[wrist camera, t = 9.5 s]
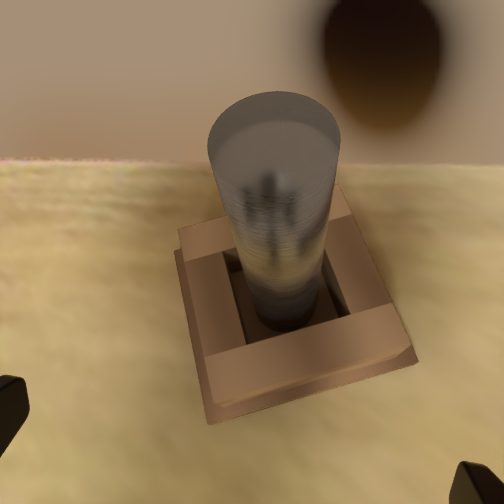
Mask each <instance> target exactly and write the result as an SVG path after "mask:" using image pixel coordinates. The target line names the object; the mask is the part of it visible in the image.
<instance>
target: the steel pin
mask: <svg viewBox="0 0 504 504" xmlns="http://www.w3.org/2000/svg"><path fill="white" fill-rule="evenodd" d="M207 146H208V155H209V159H210V163H211V166H212V169H213V173H214V176H215V179H216V182H217V186H218V189H219V192H220V196H221V199H222V202H223V206H224V209H225V212H226V216H227V219H228V222H229V225H230V229H231V232H232V235H233V239H234V242H235V245H236V249H237V252H238V255H239V258H240V262H241V265H242V268H243V272H244V275H245V278H246V282H247V285H248V288H249V292H250V295H251V298H252V301H253V305H254V308H255V311H256V314H257V316H258V318H259V319H260V320H261V322H262V323H263V324H264V325H266V326H267V327H269V328H270V329H272V330H275V331H279V332H291V331H295V330H298V329H300V328H302V327H303V326H304V325H306V324H307V323H308V322H309V320H310V319H311V318H312V316H313V314H314V311H315V306H316V300H317V293H318V287H319V280H320V274H321V267H322V261H323V254H324V247H325V241H326V234H327V228H328V221H329V215H330V208H331V202H332V195H333V189H334V182H335V176H336V169H337V162H338V156H339V149H340V132H339V128H338V125H337V123H336V121H335V119H334V117H333V116H332V114H331V113H330V112H329V111H328V110H327V109H326V108H325V107H324V106H322V105H321V104H319V103H318V102H317V101H315V100H313V99H311V98H309V97H306V96H303V95H300V94H296V93H291V92H281V91H280V92H279V91H275V92H265V93H260V94H255V95H252V96H249V97H246V98H244V99H242V100H240V101H238V102H236V103H235V104H233V105H232V106H230V107H229V108H228V109H226V110H225V111H224V112H223V113H222V114H221V115H220V116H219V118H218V119H217V120H216V122H215V123H214V125H213V126H212V129H211V131H210V134H209V138H208V145H207Z"/></svg>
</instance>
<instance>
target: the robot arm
mask: <svg viewBox="0 0 504 504" xmlns="http://www.w3.org/2000/svg"><path fill="white" fill-rule="evenodd" d="M29 410H30V405H29V399H28V393H27V387H26V382H25V380H24V379H23V378H21V377H17V376H12V375H2V376H0V457H1V456H2V454H3V453H4V451H5V450H6V448H7V447H8V446H9V444H10V443H11V441H12V440H13V438H14V437H15V435H16V434H17V432H18V431H19V429H20V428H21V426H22V425H23V423H24V422H25V421H26V419H27V417H28V414H29ZM449 504H504V483H503V482H502V481H501V480H500V479H499V478H498V477H497V476H496V475H495V474H494V473H493V472H492V471H491V470H490V469H489V468H488V467H487V466H485V465H483V464H478V463H473V462H468V461H462V462H460V463H459V465H458V467H457V470H456V473H455V477H454V480H453V483H452V487H451V490H450V494H449Z"/></svg>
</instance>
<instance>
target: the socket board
mask: <svg viewBox="0 0 504 504" xmlns="http://www.w3.org/2000/svg"><path fill="white" fill-rule="evenodd" d="M178 234H179V238H180V243H181V248H182V249H179V250H175V251H174V255H175V260H176V265H177V270H178V275H179V280H180V285H181V291H182V296H183V301H184V306H185V311H186V316H187V321H188V326H189V331H190V337H191V342H192V347H193V352H194V357H195V362H196V367H197V372H198V378H199V383H200V388H201V393H202V398H203V403H204V408H205V413H206V419H207V424H210V425H212V424H215V423H218V422H222V421H225V420H228V419H232V418H235V417H239V416H242V415H245V414H249V413H252V412H255V411H259V410H262V409H266V408H269V407H272V406H276V405H279V404H283V403H286V402H289V401H293V400H296V399H299V398H303V397H306V396H310V395H313V394H316V393H320V392H323V391H326V390H330V389H333V388H337V387H340V386H343V385H347V384H350V383H353V382H357V381H360V380H364V379H367V378H370V377H374V376H377V375H380V374H384V373H387V372H391V371H394V370H397V369H401V368H404V367H408V366H411V365H414V364H416V363H418V362H419V360H418V358H417V356H416V354H415V352H414V349H413V347H412V345H411V342H410V340H409V338H408V336H407V333H406V331H405V329H404V327H403V325H402V322H401V320H400V318H399V316H398V314H397V311H396V309H395V307H394V305H393V303H392V300H391V298H390V296H389V294H388V292H387V289H386V287H385V285H384V283H383V281H382V278H381V276H380V274H379V272H378V270H377V267H376V265H375V263H374V261H373V259H372V256H371V254H370V252H369V250H368V248H367V245H366V243H365V241H364V239H363V237H362V234H361V232H360V230H359V228H358V226H357V223H356V221H355V219H354V217H353V215H352V212H351V210H350V208H349V206H348V204H347V201H346V199H345V197H344V195H343V193H342V190H341V188H340V186H339V184H336V185H334V189H333V195H332V202H331V208H330V215H329V221H328V228H327V234H326V241H325V247H324V254H323V261H322V267H321V274H320V280H319V287H318V293H317V300H316V306H315V311H314V314H313V316H312V318H311V319H310V320H309V322H308V323H307V324H306V325H304V326H303V327H302V328H300V329H298V330H295V331H291V332H279V331H275V330H272V329H270V328H269V327H267V326H266V325H264V324H263V323H262V322H261V320H260V319H259V318H258V316H257V314H256V311H255V308H254V305H253V301H252V298H251V295H250V292H249V288H248V285H247V282H246V278H245V275H244V272H243V268H242V265H241V262H240V258H239V255H238V252H237V249H236V245H235V242H234V239H233V235H232V232H231V229H230V225H229V222H228V219H227V216H223V217H219V218H216V219H212V220H209V221H205V222H202V223H198V224H195V225H191V226H188V227H184V228H181V229H178Z"/></svg>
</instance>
